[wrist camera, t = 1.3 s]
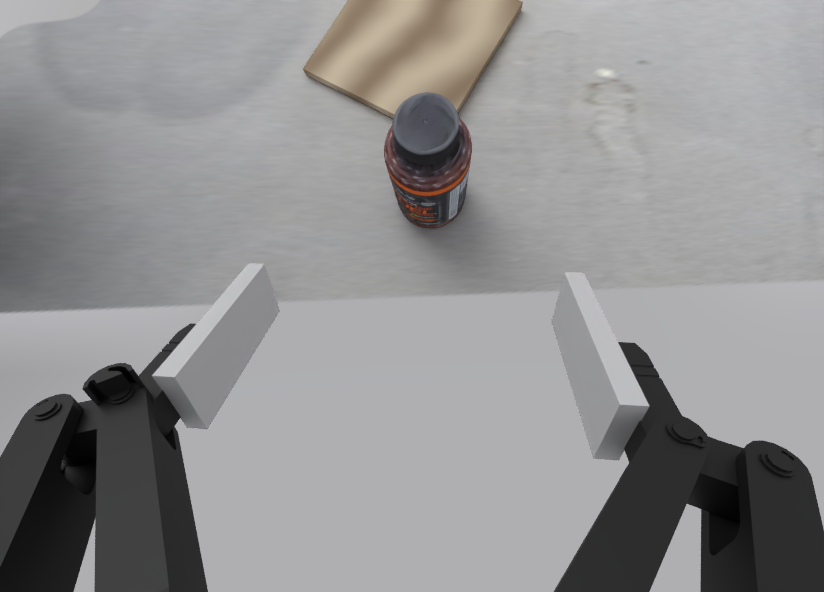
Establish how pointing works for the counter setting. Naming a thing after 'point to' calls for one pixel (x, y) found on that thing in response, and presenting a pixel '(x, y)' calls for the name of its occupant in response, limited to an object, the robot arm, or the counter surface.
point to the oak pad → (410, 49)
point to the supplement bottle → (428, 159)
